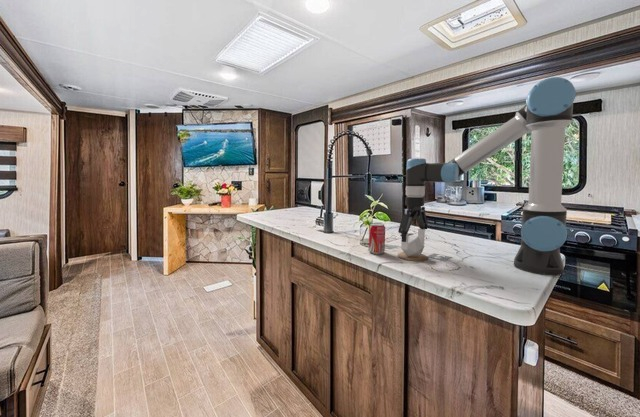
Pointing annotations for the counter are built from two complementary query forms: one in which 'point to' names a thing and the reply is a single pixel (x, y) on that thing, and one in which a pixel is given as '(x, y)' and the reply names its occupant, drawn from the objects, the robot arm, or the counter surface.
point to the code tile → (439, 257)
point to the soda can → (377, 238)
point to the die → (414, 247)
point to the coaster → (403, 256)
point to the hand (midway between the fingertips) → (413, 246)
